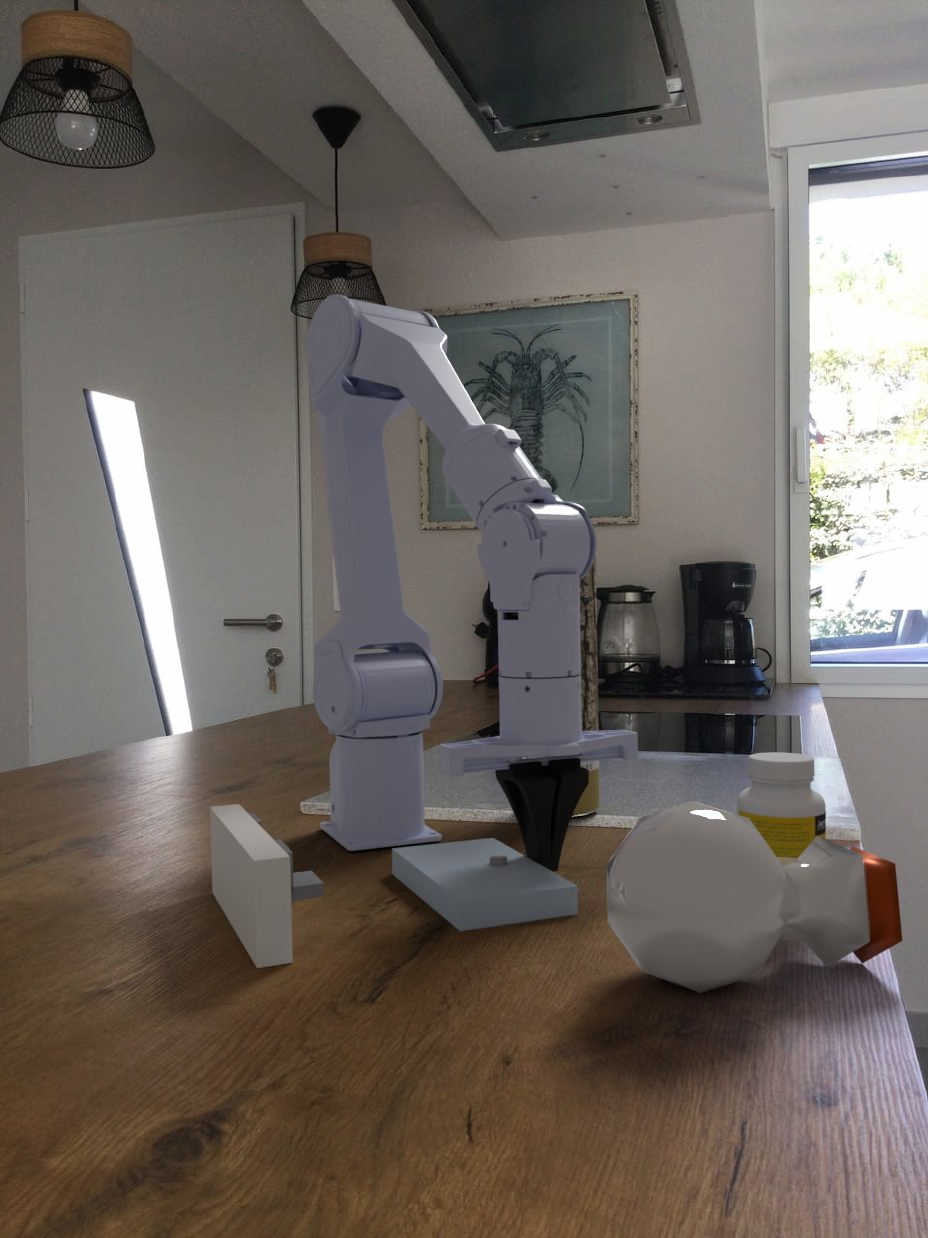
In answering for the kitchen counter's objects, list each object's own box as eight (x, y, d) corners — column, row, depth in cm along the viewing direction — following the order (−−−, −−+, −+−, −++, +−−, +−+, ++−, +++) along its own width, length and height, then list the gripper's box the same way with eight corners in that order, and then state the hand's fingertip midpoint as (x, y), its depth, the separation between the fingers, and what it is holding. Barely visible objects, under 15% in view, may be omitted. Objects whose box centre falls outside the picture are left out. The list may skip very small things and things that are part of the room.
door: (392, 881, 77) (391, 843, 77) (493, 869, 80) (493, 832, 80) (460, 940, 64) (459, 894, 64) (578, 923, 67) (577, 879, 67)
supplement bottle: (832, 926, 64) (831, 764, 63) (739, 922, 65) (738, 763, 65) (820, 899, 69) (819, 750, 69) (735, 896, 70) (733, 749, 70)
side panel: (212, 892, 73) (210, 806, 73) (275, 884, 75) (273, 800, 75) (257, 968, 58) (254, 860, 58) (334, 956, 60) (331, 851, 60)
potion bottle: (588, 1009, 55) (842, 1012, 59) (658, 951, 48) (947, 959, 51) (569, 843, 61) (804, 854, 64) (630, 766, 53) (893, 784, 56)
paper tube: (612, 808, 98) (607, 538, 97) (579, 823, 92) (574, 536, 92) (547, 801, 102) (542, 541, 101) (511, 815, 96) (506, 539, 95)
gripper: (465, 685, 67) (469, 897, 68) (660, 674, 73) (663, 870, 73) (426, 677, 74) (430, 870, 74) (608, 667, 79) (611, 847, 80)
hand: (543, 869), depth 74 cm, fingers closed
